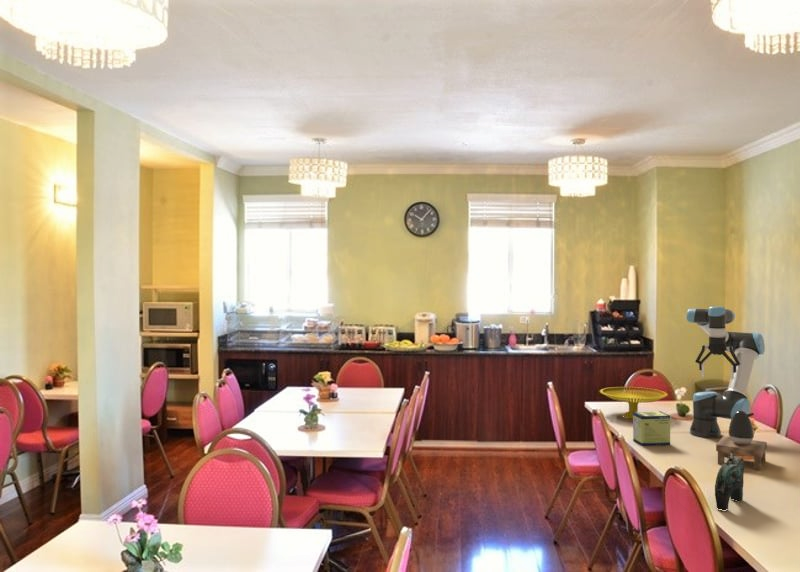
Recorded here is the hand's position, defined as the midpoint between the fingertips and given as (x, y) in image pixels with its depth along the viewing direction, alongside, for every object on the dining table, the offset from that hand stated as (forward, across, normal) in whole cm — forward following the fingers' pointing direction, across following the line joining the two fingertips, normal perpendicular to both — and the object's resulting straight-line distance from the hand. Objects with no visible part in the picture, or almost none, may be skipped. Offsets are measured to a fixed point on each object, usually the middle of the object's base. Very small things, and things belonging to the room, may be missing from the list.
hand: (717, 377), depth 303 cm
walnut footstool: (+35, -14, +25) cm, 45 cm away
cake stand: (+35, +55, -42) cm, 78 cm away
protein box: (+35, +29, +14) cm, 48 cm away
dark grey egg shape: (+26, -14, +25) cm, 39 cm away
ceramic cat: (+35, -19, +85) cm, 94 cm away
